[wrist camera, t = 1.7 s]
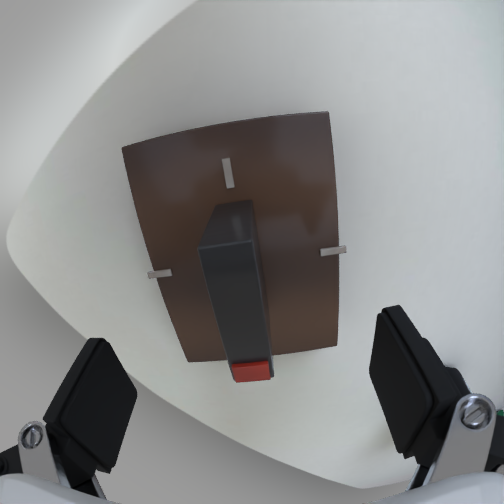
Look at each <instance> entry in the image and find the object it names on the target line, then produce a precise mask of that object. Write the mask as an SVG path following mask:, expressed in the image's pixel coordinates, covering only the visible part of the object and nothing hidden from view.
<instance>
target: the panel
mask: <svg viewBox="0 0 504 504" xmlns="http://www.w3.org/2000/svg"><path fill="white" fill-rule="evenodd" d="M122 153H123V158H124V162H125V167H126V171H127V176H128V180H129V184H130V188H131V192H132V196H133V200H134V204H135V208H136V212H137V215H138V219H139V223H140V226H141V230H142V233H143V237H144V240H145V244H146V247H147V250H148V253H149V257H150V260H151V263H152V266H153V269H154V271H150V272H148V273H147V274H148V277H149V279H150V278H157V281H158V284H159V287H160V290H161V293H162V296H163V299H164V302H165V304H166V307H167V310H168V313H169V315H170V318H171V321H172V323H173V326H174V328H175V331H176V334H177V336H178V339H179V341H180V344H181V346H182V349H183V351H184V354H185V356H186V358H187V361H188V362H205V361H220V360H227V357H226V354H225V350H224V347H223V343H222V340H221V337H220V333H219V330H218V326H217V323H216V319H215V315H214V312H213V308H212V304H211V301H210V297H209V293H208V290H207V286H206V282H205V278H204V274H203V270H202V266H201V262H200V258H199V254H198V250H197V248H198V245H199V243H200V240H201V238H202V235H203V233H204V231H205V228H206V226H207V223H208V221H209V219H210V216H211V214H212V212H213V209H214V207H215V205H219V204H225V203H232V202H238V201H245V200H252V201H253V208H254V214H255V221H256V227H257V234H258V241H259V247H260V254H261V261H262V267H263V274H264V281H265V287H266V294H267V301H268V308H269V318H270V330H271V342H272V354H273V355H281V354H288V353H295V352H302V351H309V350H315V349H321V348H327V347H333V346H337V341H338V316H339V254H340V253H346V246H339V235H338V210H337V193H336V178H335V166H334V155H333V144H332V135H331V126H330V118H329V112H327V111H326V112H310V113H297V114H287V115H277V116H269V117H261V118H253V119H246V120H240V121H233V122H227V123H222V124H216V125H211V126H205V127H200V128H195V129H191V130H186V131H182V132H177V133H173V134H169V135H164V136H160V137H157V138H153V139H149V140H145V141H141V142H138V143H134V144H131V145H127V146H124V147H122Z"/></svg>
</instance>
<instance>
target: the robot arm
mask: <svg viewBox="0 0 504 504" xmlns="http://www.w3.org/2000/svg"><path fill="white" fill-rule="evenodd" d="M369 374H370V378H371V380H372V383H373V386H374V388H375V391H376V393H377V396H378V399H379V401H380V404H381V407H382V410H383V412H384V415H385V418H386V421H387V424H388V426H389V429H390V432H391V435H392V438H393V441H394V444H395V447H396V450H397V452H398V453H403V456H404V459H407V458H409V457H412V456H415V459H416V462H417V464H418V466H417V468H416V470H415V473H414V475H413V477H412V479H411V481H410V483H409V485H408V487H407V489H406V490H405V492H403V493H399V494H397V495H393V496H390V497H387V498H383V499H380V500H376V501H373V502H368V503H364V504H504V416H501V415H498V414H496V409H495V406H494V404H493V402H492V401H491V400H490V399H489V398H488V397H486V396H484V395H482V394H475V393H473V394H469V395H466V396H464V397H463V396H462V394H461V393H460V391H459V389H458V387H457V386H456V384H455V382H454V381H453V379H452V377H451V376H450V374H449V372H448V371H447V369H446V368H445V366H444V364H443V363H442V361H441V360H440V358H439V356H438V355H437V353H436V352H435V350H434V349H433V347H432V346H431V344H430V343H429V341H428V340H427V339H426V338H422V337H421V335H420V334H419V332H418V331H417V329H416V328H415V326H414V325H413V323H412V322H411V320H410V319H409V317H408V316H407V314H406V313H405V312H404V310H403V309H402V307H401V306H400V305H396V306H391V307H386V308H383V309H382V312H381V313H379V314H378V315H377V321H376V328H375V336H374V342H373V349H372V355H371V361H370V366H369ZM136 399H137V390H136V388H135V387H134V385H133V383H132V381H131V380H130V378H129V377H128V375H127V373H126V371H125V370H124V368H123V366H122V365H121V363H120V361H119V359H118V358H117V356H116V354H115V352H114V350H113V348H112V347H111V345H110V343H109V342H107V341H106V340H105V339H104V338H89V339H88V340H87V342H86V344H85V345H84V347H83V349H82V350H81V352H80V353H79V355H78V356H77V358H76V360H75V362H74V363H73V365H72V367H71V368H70V370H69V372H68V373H67V375H66V377H65V379H64V380H63V382H62V384H61V386H60V387H59V389H58V391H57V393H56V395H55V396H54V398H53V400H52V402H51V404H50V406H49V407H48V409H47V411H46V413H45V415H44V417H43V420H44V421H45V422H46V423H47V424H46V426H44V425H43V424H42V423H41V422H38V421H33V422H29V423H28V424H26V425H25V426H24V427H23V428H22V429H21V431H20V433H19V436H18V445H16V446H14V447H12V448H10V449H7V450H6V451H3V452H1V453H0V504H119V503H115V502H112V501H108V500H107V499H106V497H105V495H104V493H103V491H102V489H101V486H100V485H99V482H98V480H97V478H96V475H95V470H96V469H97V470H98V471H101V472H105V473H109V474H110V472H111V468H112V467H114V466H115V464H116V461H117V457H118V454H119V451H120V447H121V445H122V441H123V438H124V435H125V432H126V429H127V426H128V423H129V419H130V417H131V413H132V411H133V408H134V405H135V402H136Z"/></svg>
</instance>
